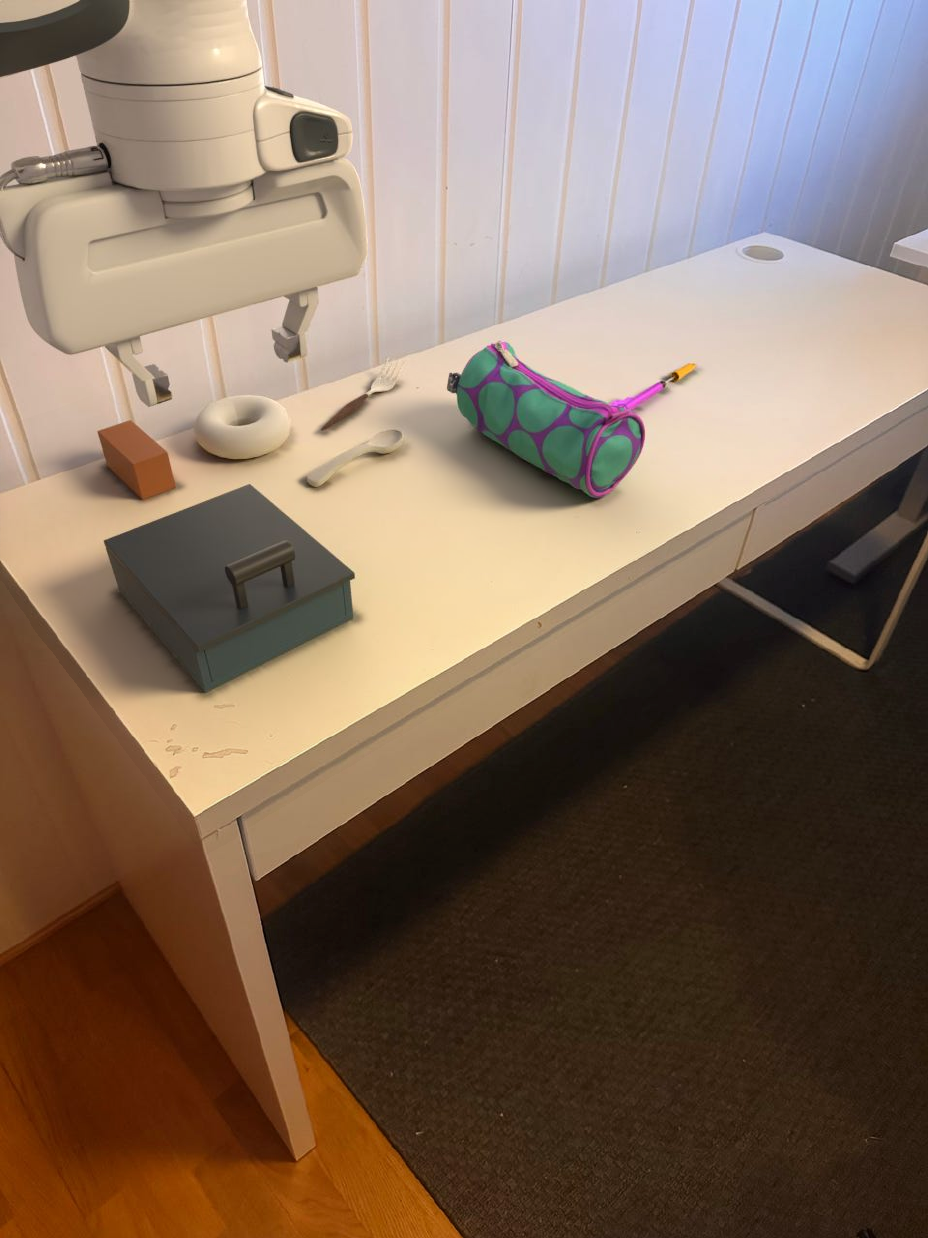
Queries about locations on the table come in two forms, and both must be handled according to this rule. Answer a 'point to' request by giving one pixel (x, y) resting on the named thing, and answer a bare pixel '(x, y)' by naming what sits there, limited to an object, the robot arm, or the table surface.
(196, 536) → the lid
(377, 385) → the fork
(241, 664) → the teal shallow open box
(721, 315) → the table surface
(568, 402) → the pencil case
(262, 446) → the donut
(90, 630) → the table surface
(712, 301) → the table surface
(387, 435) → the spoon
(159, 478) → the brown rectangular block
